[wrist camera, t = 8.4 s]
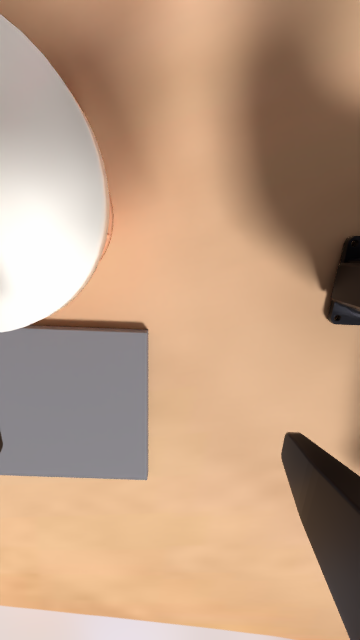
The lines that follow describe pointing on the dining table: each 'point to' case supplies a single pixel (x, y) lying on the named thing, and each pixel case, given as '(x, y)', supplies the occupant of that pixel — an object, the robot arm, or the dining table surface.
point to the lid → (45, 187)
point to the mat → (74, 402)
